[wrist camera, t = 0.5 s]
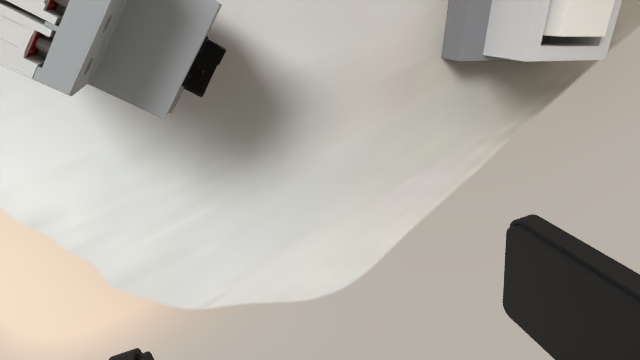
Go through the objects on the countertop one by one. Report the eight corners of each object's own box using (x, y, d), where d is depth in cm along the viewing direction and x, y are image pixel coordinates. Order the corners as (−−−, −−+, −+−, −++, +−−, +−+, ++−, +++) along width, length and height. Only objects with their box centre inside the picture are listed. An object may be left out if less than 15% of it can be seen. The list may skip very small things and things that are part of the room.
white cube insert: (545, -27, 34) (576, -30, 31) (589, -25, 35) (622, -27, 33) (532, 34, 36) (560, 36, 33) (574, 34, 37) (605, 36, 34)
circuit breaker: (188, 96, 35) (192, 150, 22) (-3, 0, 29) (-157, -5, 16) (228, 17, 34) (258, 23, 21) (36, -102, 27) (-96, -203, 14)
